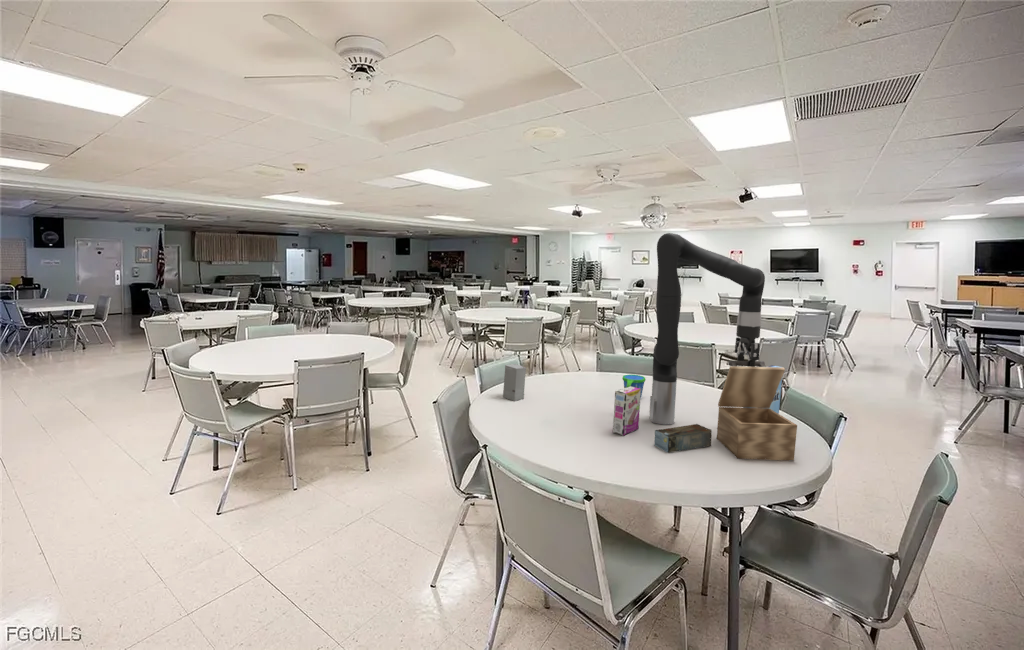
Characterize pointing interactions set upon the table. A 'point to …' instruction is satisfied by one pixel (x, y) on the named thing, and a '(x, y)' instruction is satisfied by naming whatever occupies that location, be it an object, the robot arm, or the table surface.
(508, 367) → the skincare box
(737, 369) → the lid
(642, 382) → the snack cup
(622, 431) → the candy bar box
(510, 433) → the table surface
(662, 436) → the beverage carton
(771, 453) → the wooden box
